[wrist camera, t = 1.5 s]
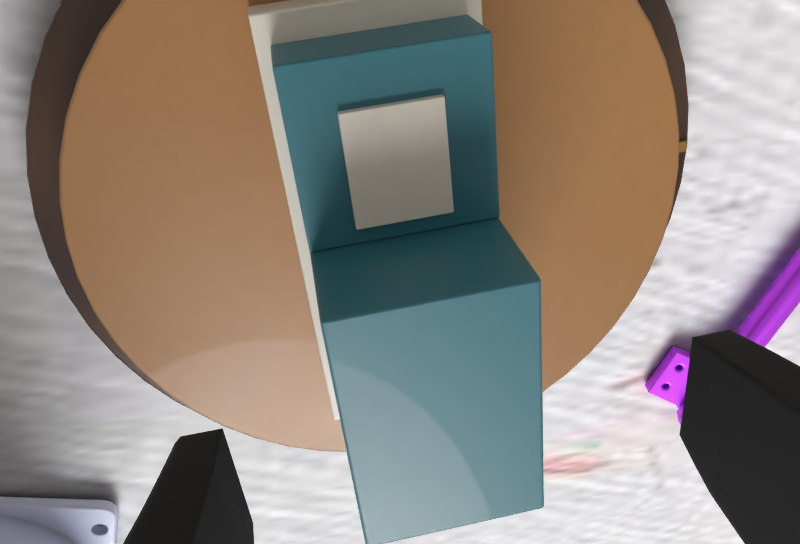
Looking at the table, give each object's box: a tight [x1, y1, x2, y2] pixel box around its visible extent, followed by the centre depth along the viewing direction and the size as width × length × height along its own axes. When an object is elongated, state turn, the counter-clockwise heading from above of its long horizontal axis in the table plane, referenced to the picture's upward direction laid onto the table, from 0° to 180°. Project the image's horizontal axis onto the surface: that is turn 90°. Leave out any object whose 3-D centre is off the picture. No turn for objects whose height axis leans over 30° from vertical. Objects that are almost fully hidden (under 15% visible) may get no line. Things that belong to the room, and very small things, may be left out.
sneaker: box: [59, 0, 679, 544], centre depth 16 cm, size 15×15×6 cm
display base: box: [26, 0, 688, 408], centre depth 19 cm, size 17×17×2 cm
